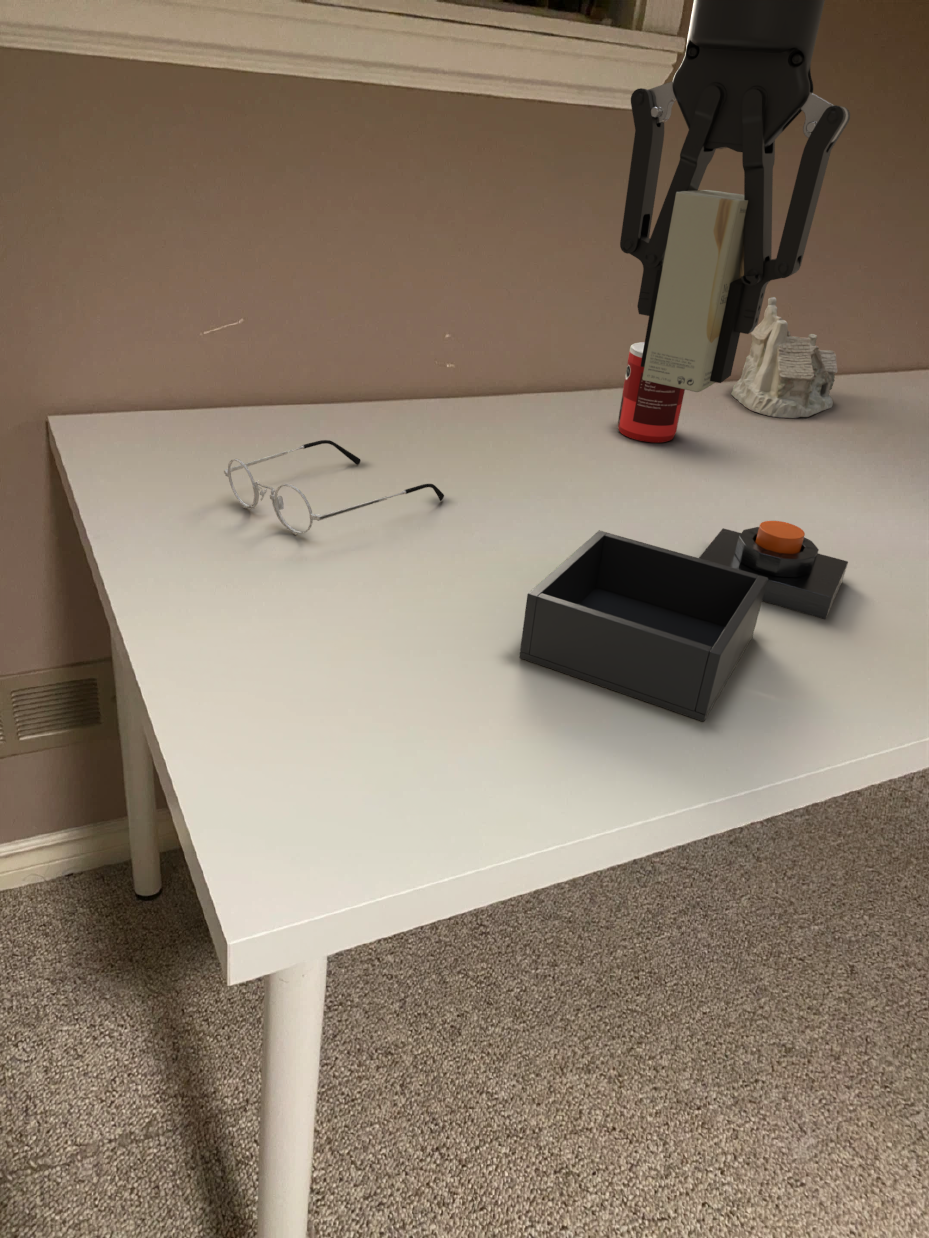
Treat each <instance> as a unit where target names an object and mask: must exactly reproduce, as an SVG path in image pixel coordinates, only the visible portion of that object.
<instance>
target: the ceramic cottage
mask: <svg viewBox="0 0 929 1238" xmlns="http://www.w3.org/2000/svg"><path fill="white" fill-rule="evenodd" d="M767 299H768V300H767V307H766V308H765V310H764V313H763V319H762V320H761V321H760V323H758V324H757V326H756V327H755V329H754V330H753V331H752V332H751V333H750V337H751V339H752V340H751V345H750V351H749V353H748V355H747V356H746V357H745V362H744V364H743V368H742V371H741V376H740V378H739V379H738V380H737V382H736V383H735V384H734V386H733V388H732V391H731V396H732V397H734V399H735V400H737V401H738V402H739V403H740V404H742V406H744V407H745V408H747V409H748V410H750V411H752V412H755V413H758V414H761V415H764V416H768V417H774V418H786V419H798V418H809V417H811V416H813V415H816V414H818V413H821V412H822V411H827V410H829V409H832V408H833V405H834V404H833V402H834V400H833V398H832V396H831V395H830V391H832V390H833V387H834V383H835V379H836V377H835V376H836V374H837V373H838V362H837V354H836V352H835V351H834V350H831V349H830V350H829V349H826V350H825V349H820V346H819V345H816V344H817V339H818V335H817V334H814V333H810V334H808V335H807V337H800V336H795V335H794V336H791V331H790V330H789V329H788V328H789V327H788V326H789V323H788V321H786V320H785V319H783V317H782V316H778V307H777V302H778V301H777V298H776V297H775V296H773V297H769V298H767Z"/></svg>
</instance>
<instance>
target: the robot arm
mask: <svg viewBox="0 0 929 1238" xmlns="http://www.w3.org/2000/svg"><path fill="white" fill-rule="evenodd" d="M825 3H826V0H693V4H692V9H691V10H692V11H691V16H690V21H689V28H688V32H687V33H688V34H687V40H686V48H685V53H684V57H683V59H682V62H681V64H680V65H679V67H678V69H677V70H676V71H675V73H674V76H673V78H672V81H669V82H666V83H663V84H661V85H657V86H655V87H651V88H642V87H641V88H637V89H635V90H633V92H632V93H631V95H630V106H631V112H632V119H633V124H634V137H633V145H632V152H631V159H630V168H629V175H628V181H627V182H628V183H627V189H626V196H625V204H624V210H623V211H624V212H623V218H622V220H623V221H622V226H621V232H620V233H621V234H620V241H619V247H620V250H621V251H622V252H623V253H624V254H627V255H631V256H632V257H634V258H636V259H637V260H638V261H640V263H641V265H642V277H641V283H640V288H639V294H638V299H637V300H638V301H637V311H638V315H641V316H647V317H648V321H647V327H646V332H645V338H644V342H645V343H644V349H643V355H642V360H641V366H640V367H645V361H646V356H647V350H648V345H649V340H650V334H651V329H652V323H653V318H654V312H655V307H656V301H657V296H658V290H659V285H660V279H661V273H662V268H663V262H664V257H665V251H666V246H667V240H668V234H669V229H670V224H671V218H672V213H673V207H674V202H675V196H676V192H681V191H693V190H699V189H700V186H701V183H702V180H703V178H704V175H705V173H706V170H707V168H708V166H709V164H710V163H711V161H712V160H713V158H714V155H715V153H716V151H717V150H723V149H730V150H732V151H735V152H737V153H741V154H742V155H741V156H742V160H741V161H742V162H741V163H742V169H743V172H744V175H743V176H744V179H743V180H744V181H743V183H744V184H743V187H744V188H743V193H744V194H743V195H744V200H748V204H747V209H746V213H745V218H744V275H743V276H741V278H740V279H737V280H735V281H733V282H731V283H730V288H729V292H728V297H727V302H726V307H725V312H724V316H723V321H722V326H721V331H720V335H719V340H718V345H717V350H716V354H715V359H714V364H713V369H712V373H711V378H710V381H712V382H716V383H717V384H722V383H723V382H725V381H726V380H727V379H728V378H729V377H731V376H732V371H733V367H734V362H735V358H736V354H737V349H738V345H739V340H740V335H741V334H745V335H749V334H751V333H752V331H753V330H754V329H755V327H756V326H758V325H759V319H760V315H761V311H762V308H763V307H762V306H763V302H764V299H765V294H766V290H767V286H768V284H769V283H770V282H771V281H775V280H779V279H786V278H789V277H791V276H793V275H794V274H796V273H797V272H798V271H800V269H801V266H802V262H803V258H804V256H805V252H806V247H807V244H808V239H809V237H810V232H811V228H812V226H813V225H812V224H813V221H814V218H815V217H814V216H815V213H816V209H817V205H818V201H819V198H820V194H821V190H822V186H823V183H824V178H825V175H826V172H827V167H828V163H829V160H830V156H831V152H832V149H833V148H834V146H835V145H836V143H837V142H838V140H839V139H840V136H841V135H842V134H843V132H844V130H845V128H846V127H847V125H848V124H849V121H850V119H851V112H850V110H849V109H848V108H847V107H846V106H842V105H836V104H835V105H834V104H833V103H831V101H828V100H826V99H825V98H823V97H821V96H819V95H817V94H815V93H814V83H813V79H812V73H811V72H812V71H811V64H812V61H813V60H812V59H813V54H814V51H815V46H816V41H817V37H818V33H819V28H820V24H821V20H822V16H823V12H824V11H823V10H824V5H825ZM675 102H677V105H678V107H679V109H680V112H681V115H682V116H683V120H684V121H685V124H686V126H687V129H688V131H687V134H686V137H685V139H684V142H683V145H682V146H681V149H680V153H679V160H678V164H677V166H676V169H675V172H674V174H673V177H672V180H671V182H670V184H669V187H668V190H667V193H666V195H665V198H664V201H663V204H662V206H661V208H660V212H659V213H658V217H657V219H656V221H655V225H654V226H653V227H654V228H653V230H652V233H651V228H652V220H653V213H654V207H655V206H654V205H655V201H656V195H657V187H658V180H659V173H660V167H661V160H662V153H663V148H664V147H663V146H664V141H665V123H666V122H668V121H669V119H670V118H671V116H672V110H673V105H674V104H675ZM802 112H803V113H804V118H805V119H804V124H803V126H802V133H803V134H804V136H805V137H806V138H807V140H806V143H805V146H804V148H803V151H802V154H801V158H800V162H799V166H798V170H797V173H796V178H795V182H794V186H793V190H792V194H791V197H790V202H789V206H788V210H787V213H786V216H785V217H786V218H785V222H784V225H783V229H782V234H781V238H780V242H779V246H778V251H777V254H776V258H772V252H773V251H772V248H773V247H772V246H773V245H772V244H773V240H772V239H773V185H774V184H773V181H774V179H773V177H774V175H773V174H774V165H775V159H776V158H775V157H776V139H777V138H778V137H779V136H780V135H781V134H782V133H783V132H784V131H785V130H786V129H787V128H788V126H790V124H792V122H793V121H794V120H795V119H796V118H797V117H798V116H799V115H800V114H801V113H802ZM650 233H651V234H650ZM650 235H651V236H650Z"/></svg>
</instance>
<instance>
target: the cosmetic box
mask: <svg viewBox="0 0 929 1238" xmlns="http://www.w3.org/2000/svg"><path fill="white" fill-rule="evenodd" d="M747 204H748V200H744V194H741V193H740V194H739V193H732V192H726V191H718V190H712V189H698V190H693V191H681V192H676V196H675V202H674V207H673V213H672V218H671V224H670V229H669V234H668V240H667V246H666V251H665V257H664V262H663V268H662V273H661V279H660V285H659V290H658V296H657V301H656V307H655V312H654V318H653V323H652V329H651V334H650V340H649V345H648V350H647V356H646V361H645V367H644V372H643V378H642V379H643V380H645V381H650V382H654V383H658V384H663V385H668V386H672V387H677V388H681V389H685V391H689V392H694V393H700V392H703V391H704V390H706V389H708V388H709V387H711V386H713V385H715V383H717V382H712V381H710V378H711V373H712V369H713V364H714V359H715V354H716V350H717V345H718V340H719V335H720V331H721V326H722V321H723V316H724V312H725V307H726V302H727V297H728V292H729V288H730V283H731V282H733V281H735V280H737V279H740V278H741V276H743V275H744V218H745V213H746V209H747Z"/></svg>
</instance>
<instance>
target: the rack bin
mask: <svg viewBox="0 0 929 1238" xmlns="http://www.w3.org/2000/svg"><path fill="white" fill-rule="evenodd" d="M767 581H768V578H767V577H763V576H760V575H759V576H758V575H757V574H753V573H750V572H746V571H743V570H739V569H735V568H732V567H728V566H725V565H721V564H718V563H714V562H710V561H707V560H703V559H700V558H699V557H696V556H692V555H689V554H685V553H681V552H678V551H675V550H671V549H668V548H664V547H660V546H657V545H653V544H650V543H646V542H643V541H640V540H635V539H631V538H628V537H624V536H621V535H617V534H615V533H611V532H608V531H603V530H600V529H599V530H598V531H596V532H595V533H594V534H593V535H592V536H591V537H590V538H588V539H587V540H586V541H585V542H584V543H583V544H582V545H581V546H579V547H578V548H577V549H576V550H575V551H574V552H573V553H572V554H570V555H569V556H568V557H567V558H566V559H565V560H563V562H561V563H560V564H559V565H558V566H557V567H556V568H555V569H553V570H552V571H551V572H550V573H549V574H548V575H547V576H545V578H544V579H542V580H541V581H540V582H539V583H538V584H536V586H535V587H534V588H532V589H531V590H530V591H529V592H528V593H527V595H526V603H525V611H524V617H523V618H524V619H523V626H522V633H521V641H520V649H519V659H522V660H525V661H528V662H531V663H534V664H537V665H539V666H542V667H545V668H548V669H550V670H554V671H556V672H559V673H562V674H565V675H568V676H570V677H574V678H575V679H576V678H577V679H579V680H582V681H585V682H589V683H591V684H594V685H597V686H599V687H603V688H605V689H608V690H611V691H614V692H616V693H620V694H622V695H625V696H628V697H631V698H634V699H636V700H639V701H643V702H646V703H648V704H651V705H654V706H656V707H660V708H663V709H666V710H668V711H672V712H673V713H674V712H675V713H677V714H680V715H682V716H686V717H688V718H691V719H695V720H697V721H700V722H703V723H704V722H705V720H706V719H707V718H708V715H709V713H710V712H711V710H712V708H713V707H714V705H715V703H716V701H717V700H718V698H719V696H720V694H722V691H723V690H724V687H725V686H726V684H727V682H728V680H729V679H730V677H731V675H732V674H733V672H734V670H735V668H736V666H737V665H738V663H739V662H740V660H741V658H742V656H743V654H744V653H745V651H746V649H747V647H748V646H749V644H750V642H751V640H752V639H753V637H754V632H755V628H756V625H757V621H758V618H759V614H760V611H761V607H762V602H763V601H762V599H763V596H764V592H765V588H766V585H767Z"/></svg>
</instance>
